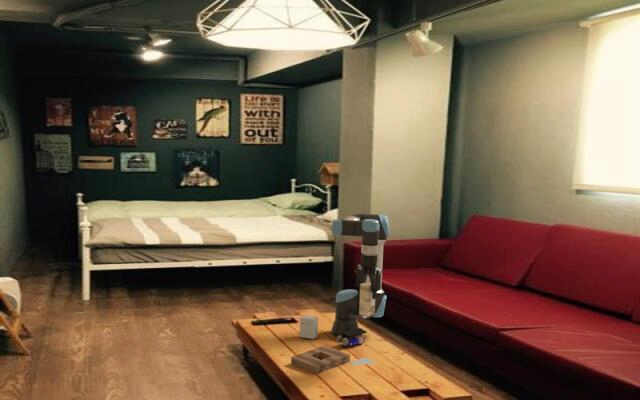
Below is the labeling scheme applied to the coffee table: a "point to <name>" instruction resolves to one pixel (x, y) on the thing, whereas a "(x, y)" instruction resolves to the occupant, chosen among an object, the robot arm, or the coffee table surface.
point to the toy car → (346, 336)
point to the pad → (362, 361)
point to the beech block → (366, 300)
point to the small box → (308, 326)
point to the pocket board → (315, 365)
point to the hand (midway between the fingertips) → (367, 304)
